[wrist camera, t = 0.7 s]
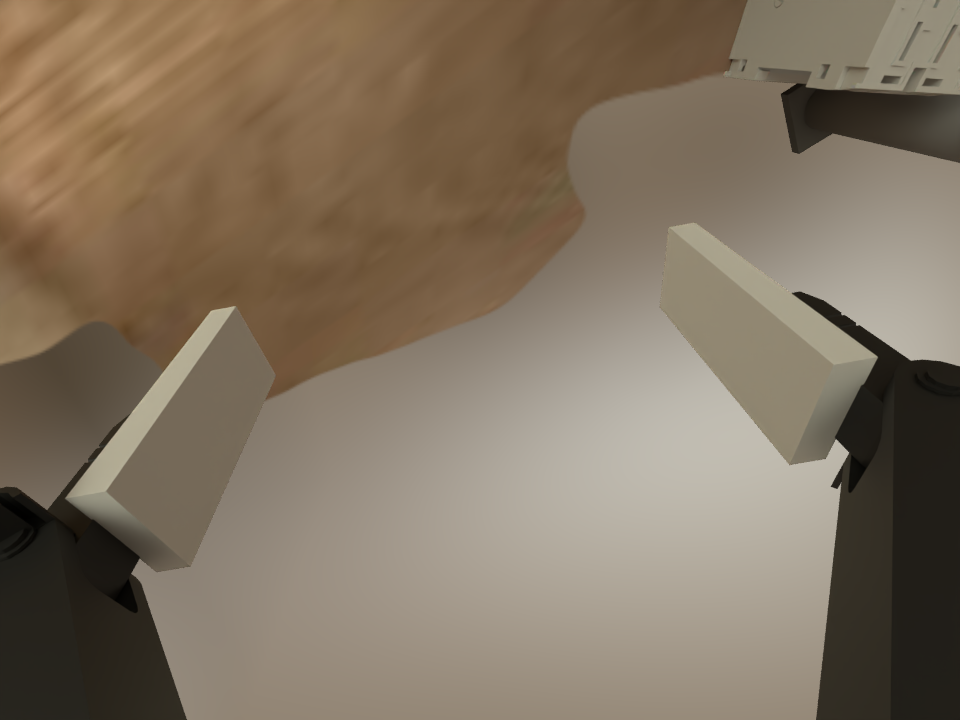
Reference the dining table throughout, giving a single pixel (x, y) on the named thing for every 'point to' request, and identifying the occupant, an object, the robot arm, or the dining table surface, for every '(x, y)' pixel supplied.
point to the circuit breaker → (851, 45)
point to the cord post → (874, 119)
